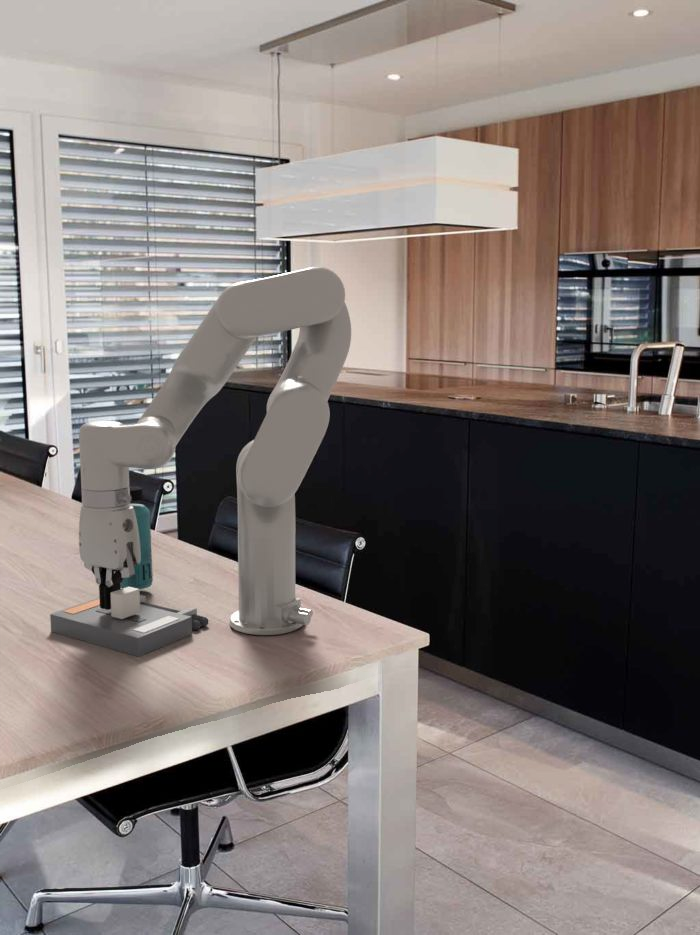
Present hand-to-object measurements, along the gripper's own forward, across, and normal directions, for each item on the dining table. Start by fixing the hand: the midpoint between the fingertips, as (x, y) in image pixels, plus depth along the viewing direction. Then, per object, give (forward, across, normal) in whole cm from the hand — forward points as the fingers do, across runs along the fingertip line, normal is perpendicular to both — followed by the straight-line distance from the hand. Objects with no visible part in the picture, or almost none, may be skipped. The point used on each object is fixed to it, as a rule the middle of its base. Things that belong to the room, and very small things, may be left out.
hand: (110, 606), depth 156 cm
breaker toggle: (+1, -4, 0) cm, 4 cm away
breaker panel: (+4, -2, 0) cm, 5 cm away
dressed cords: (+4, -2, -9) cm, 10 cm away
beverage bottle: (+4, +12, -17) cm, 21 cm away
